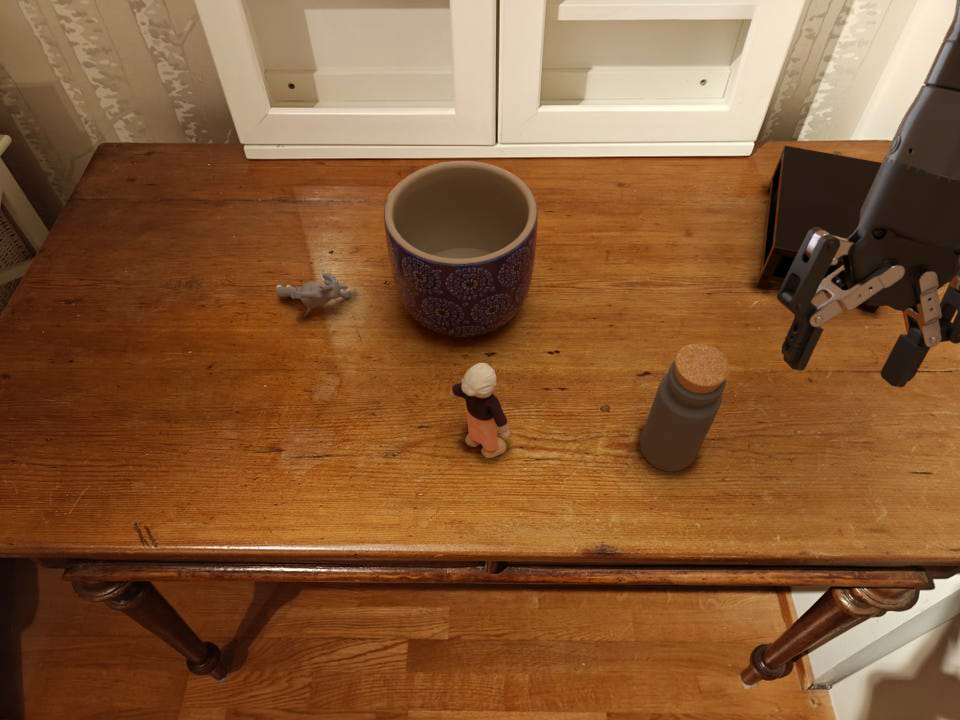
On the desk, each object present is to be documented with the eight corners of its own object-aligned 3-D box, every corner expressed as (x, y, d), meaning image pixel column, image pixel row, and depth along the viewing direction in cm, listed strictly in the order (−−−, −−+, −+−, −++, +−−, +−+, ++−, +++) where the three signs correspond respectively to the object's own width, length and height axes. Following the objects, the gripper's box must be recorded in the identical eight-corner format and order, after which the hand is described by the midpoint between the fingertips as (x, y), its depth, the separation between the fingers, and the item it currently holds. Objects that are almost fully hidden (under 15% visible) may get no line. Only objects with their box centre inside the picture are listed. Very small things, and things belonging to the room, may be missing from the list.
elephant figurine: (313, 268, 90) (366, 270, 85) (312, 314, 91) (366, 319, 86) (250, 266, 81) (306, 269, 77) (250, 317, 82) (306, 323, 77)
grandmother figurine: (521, 441, 74) (527, 372, 64) (504, 469, 72) (506, 402, 62) (460, 411, 77) (455, 339, 66) (441, 437, 75) (434, 367, 64)
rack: (872, 206, 96) (897, 165, 90) (874, 313, 84) (902, 273, 79) (767, 187, 98) (784, 145, 93) (755, 287, 87) (774, 247, 81)
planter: (534, 354, 81) (543, 263, 69) (392, 355, 81) (376, 265, 69) (528, 252, 91) (534, 158, 79) (401, 253, 91) (388, 159, 79)
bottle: (636, 465, 72) (666, 383, 60) (642, 418, 76) (671, 332, 64) (693, 477, 72) (735, 397, 59) (697, 429, 75) (737, 344, 63)
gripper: (883, 158, 43) (780, 384, 50) (1080, 201, 45) (954, 412, 52) (823, 136, 50) (739, 338, 57) (997, 174, 52) (895, 365, 59)
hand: (842, 374), depth 54 cm, fingers open, 8 cm apart
